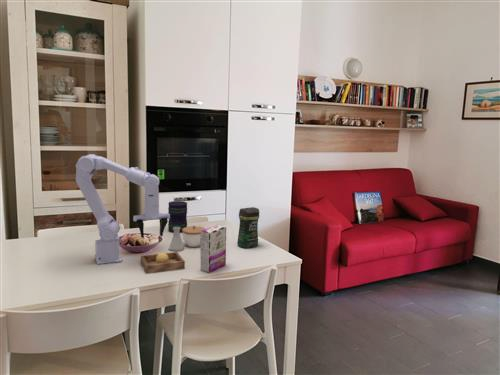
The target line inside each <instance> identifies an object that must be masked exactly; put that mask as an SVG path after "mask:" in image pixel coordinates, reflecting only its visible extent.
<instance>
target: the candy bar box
mask: <svg viewBox="0 0 500 375" xmlns="http://www.w3.org/2000/svg"><path fill="white" fill-rule="evenodd" d="M200 244H201V245H200V271H202V272H205V273H206V272H207V273H212V272H214V271H216V270H218V269H219V268H222V267H224V266H225V265H227V263H226V261H227V226H225V225H221V224H216V225H212V226H210V227H207V228H205V229H204V230H201V243H200Z"/></svg>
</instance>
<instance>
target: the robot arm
mask: <svg viewBox="0 0 500 375" xmlns="http://www.w3.org/2000/svg"><path fill="white" fill-rule="evenodd" d="M75 168H76V170H75V182H76V184H77V187H78V188H79V190H80V192H81V193H82V196H83V198H84V199H85V201H86V203H87V204H88V207H89V208H90V210H91V212H92V214H93V216H94V217H95V219H96V226H97V229H98V231H99V233H98V234H99V237H100V238H99V239H96V240H94V241H95V242H94V243H95V244H94V246H95V254H94V257H95V260H96V265H100V264H112V263H118V262H121V263H122V258H121V257H122V256H121V255H120V254H121V253H120V236H119V235H118V233H119V232H120V229H121V226H120V224H119V223H118V222H117V221H116V220H115V219H114V217H113V216H112V215H111V214H110V213H109V212H108V210H107V208H106V205H105V204H104V202H103V200H102V198H101V196H100V194H99V193H98V191H97V189H96V187H95V185H94V183H93V182H92V177H93V174H94V173H95V172H96V171H97V170H98V171H99V170H104V169H105V170H107V171H110V172H114V174H115V173H116V174H118V175H121V176H124V177H125V179H126V181H128V182H130V183H133V184H135V185H138V186H140V187H143V188H144V213H143V214H138V215H133V216H132V217H133V218H132V220H133V222H136V224H137V226H138V229H139V232H140V237H141V239H144V238H145V235H144V234H145V232H144V226H145V223H144V221H150V220H159V236H160V237H163V235H164V231H165V228H166V227H167V225H168V221H169V219H170V214H169V213H168V212H167V213H162V212H161V213H160V193H159V192H160V191H159V185H160V179H159V177H158V176H157V175H156V174H154V173H152V174H151V173H150V172H148V171H147V172H145V171H143V170H141V169H139V167H137V166H135V167H133V166H132V167H125V166H124V165H121V164H119V163H117V162H114V161H113V160H110V159H109V158H106V157H105V156H101V155H97V154H94V153H89V154H87V155H82V156H80V157H79V158H78V160H77V162H76V164H75Z"/></svg>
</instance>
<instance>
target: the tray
mask: <svg viewBox="0 0 500 375" xmlns="http://www.w3.org/2000/svg"><path fill="white" fill-rule="evenodd" d="M165 253H166V254H167V255H168V258H169V260H168V262H167V263H159V264H158V263H157V262H156V256H157V255H158V254H159V253H153V254H146V255H140V265H141V266H142V267H143V270H144V272H145V274H152V273H153V274H154V273H160V272H161V273H162V272H169V271H176V270H177V271H178V270H185V266H186V265H185V264H186V263H185V262H186V261H185V260H184V259H183V257H182V256H181V254H179V251H173V252H165Z"/></svg>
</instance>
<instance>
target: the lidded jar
mask: <svg viewBox="0 0 500 375" xmlns="http://www.w3.org/2000/svg"><path fill="white" fill-rule="evenodd" d="M204 229H206V228H205V227H203V226H198V225H197V226H196V225H191V226H187V227H185V228H183V229H182V232H183V233H182V241H184V242H183V243H185V244H186V246H187V247H189V248H198V247H201V244H200V243H201V230H204Z"/></svg>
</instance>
